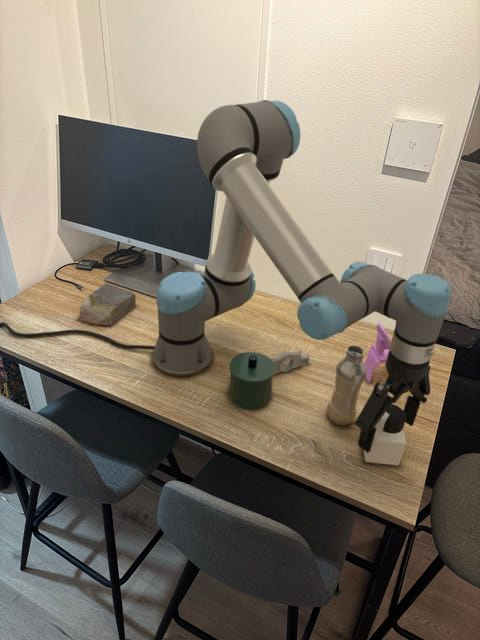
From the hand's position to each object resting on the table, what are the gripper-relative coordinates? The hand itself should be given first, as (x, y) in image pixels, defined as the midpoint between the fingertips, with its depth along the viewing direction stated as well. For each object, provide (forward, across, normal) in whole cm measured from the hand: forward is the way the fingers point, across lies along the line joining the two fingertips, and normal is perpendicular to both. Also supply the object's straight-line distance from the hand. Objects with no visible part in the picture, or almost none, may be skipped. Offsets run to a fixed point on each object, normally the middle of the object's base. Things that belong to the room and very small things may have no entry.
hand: (386, 434), depth 102 cm
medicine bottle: (+6, 0, 0) cm, 6 cm away
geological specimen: (+5, -28, +82) cm, 86 cm away
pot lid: (-3, -13, +30) cm, 33 cm away
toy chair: (+6, +20, +18) cm, 28 cm away
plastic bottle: (+6, 0, +12) cm, 13 cm away
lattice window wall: (+5, +1, +32) cm, 33 cm away
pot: (+5, -13, +30) cm, 33 cm away
